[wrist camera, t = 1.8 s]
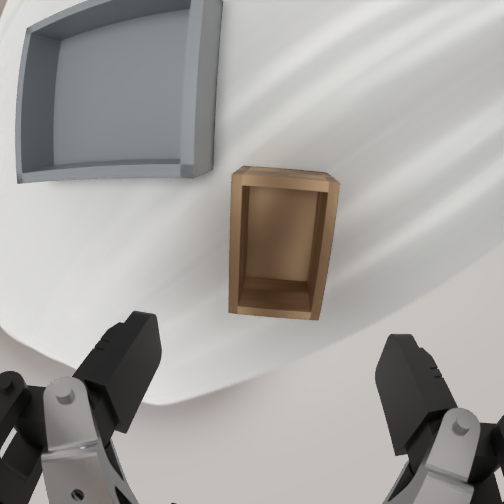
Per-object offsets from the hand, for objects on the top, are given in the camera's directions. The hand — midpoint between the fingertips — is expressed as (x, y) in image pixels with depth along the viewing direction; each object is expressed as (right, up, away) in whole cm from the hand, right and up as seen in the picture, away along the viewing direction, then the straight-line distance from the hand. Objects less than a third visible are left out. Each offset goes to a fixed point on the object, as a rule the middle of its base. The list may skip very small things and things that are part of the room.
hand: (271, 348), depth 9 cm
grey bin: (-11, +16, +9) cm, 22 cm away
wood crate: (+2, +5, +13) cm, 14 cm away
